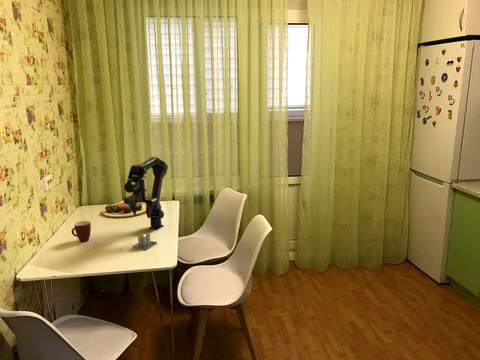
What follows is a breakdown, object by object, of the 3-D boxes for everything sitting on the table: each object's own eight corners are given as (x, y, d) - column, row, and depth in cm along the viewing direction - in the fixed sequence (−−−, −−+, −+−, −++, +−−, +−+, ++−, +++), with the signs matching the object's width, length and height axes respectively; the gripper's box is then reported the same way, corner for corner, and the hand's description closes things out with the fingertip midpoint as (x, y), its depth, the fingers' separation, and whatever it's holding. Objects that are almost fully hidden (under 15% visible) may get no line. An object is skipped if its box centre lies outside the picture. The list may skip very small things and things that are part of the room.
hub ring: (143, 241, 209) (142, 233, 208) (152, 242, 206) (152, 234, 205) (136, 245, 203) (135, 237, 202) (145, 246, 201) (145, 238, 200)
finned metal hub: (143, 241, 211) (142, 231, 209) (157, 243, 207) (156, 233, 206) (132, 247, 203) (131, 236, 201) (146, 250, 199) (145, 239, 198)
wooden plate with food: (125, 202, 288) (124, 191, 286) (160, 207, 273) (159, 195, 271) (91, 216, 260) (89, 204, 258) (127, 222, 246) (126, 209, 244)
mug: (69, 244, 210) (67, 226, 208) (75, 238, 218) (73, 221, 216) (89, 243, 210) (87, 225, 208) (94, 237, 218) (92, 220, 216)
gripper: (115, 190, 209) (118, 218, 212) (144, 193, 201) (146, 222, 205) (129, 185, 219) (131, 212, 222) (157, 188, 211) (159, 215, 215)
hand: (141, 215), depth 216 cm, fingers open, 9 cm apart
